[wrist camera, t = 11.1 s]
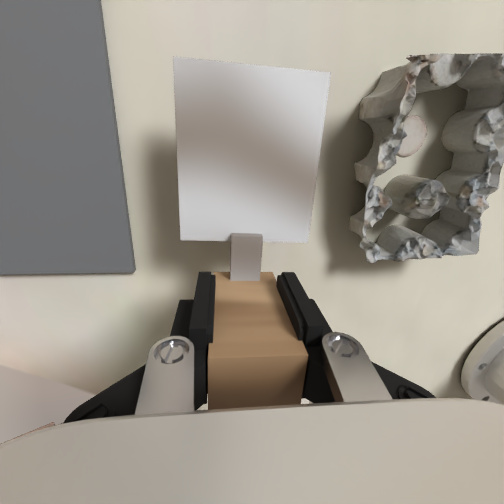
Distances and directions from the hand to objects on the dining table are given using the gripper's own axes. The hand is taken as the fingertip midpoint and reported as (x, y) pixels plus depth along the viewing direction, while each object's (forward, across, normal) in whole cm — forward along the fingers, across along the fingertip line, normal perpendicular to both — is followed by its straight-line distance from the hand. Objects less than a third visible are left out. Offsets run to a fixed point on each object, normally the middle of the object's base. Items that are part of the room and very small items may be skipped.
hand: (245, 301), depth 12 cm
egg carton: (+6, -10, -6) cm, 14 cm away
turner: (+2, 0, -4) cm, 4 cm away
